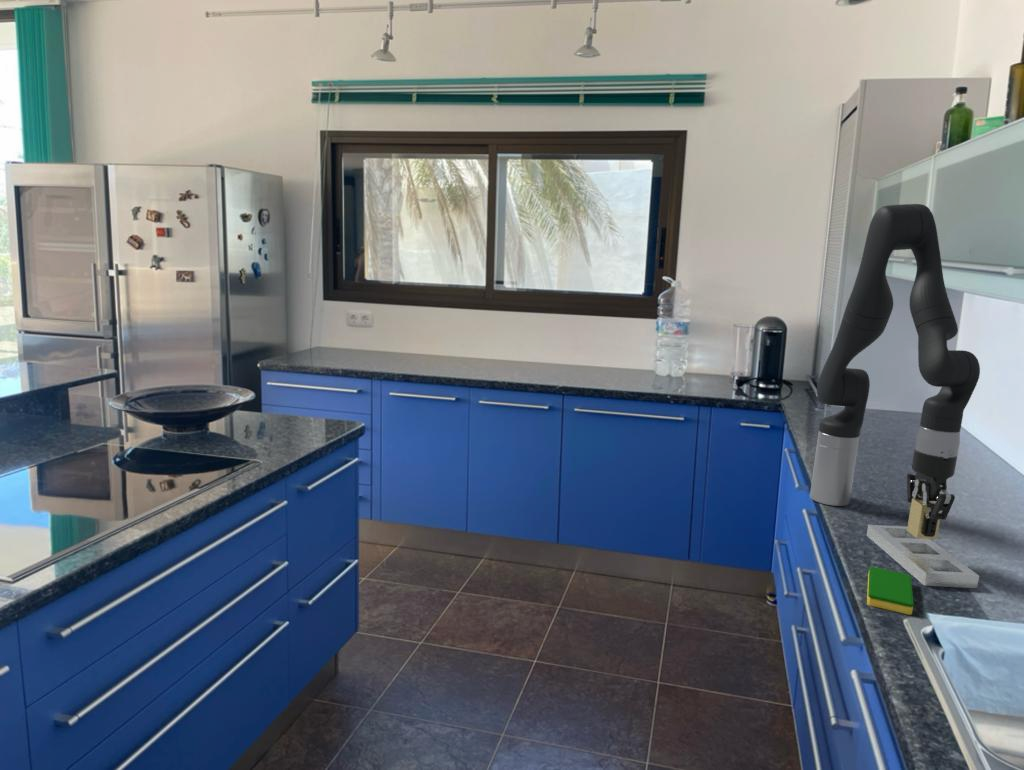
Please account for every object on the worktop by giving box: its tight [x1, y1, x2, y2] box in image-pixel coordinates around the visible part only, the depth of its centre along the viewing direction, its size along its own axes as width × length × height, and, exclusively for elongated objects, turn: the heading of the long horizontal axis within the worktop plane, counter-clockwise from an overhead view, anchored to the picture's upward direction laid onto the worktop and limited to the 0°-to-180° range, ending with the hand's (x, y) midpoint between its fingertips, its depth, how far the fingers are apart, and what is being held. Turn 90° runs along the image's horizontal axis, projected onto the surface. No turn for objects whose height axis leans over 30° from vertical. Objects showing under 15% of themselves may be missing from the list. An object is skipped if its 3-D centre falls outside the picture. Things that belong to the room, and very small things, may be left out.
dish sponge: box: [866, 566, 914, 616], centre depth 139 cm, size 7×14×2 cm, turn 154°
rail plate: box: [866, 524, 980, 589], centre depth 155 cm, size 24×10×2 cm, turn 0°
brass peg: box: [906, 498, 942, 540], centre depth 153 cm, size 4×4×7 cm
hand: (922, 531), depth 154 cm, fingers closed on brass peg, 4 cm apart
